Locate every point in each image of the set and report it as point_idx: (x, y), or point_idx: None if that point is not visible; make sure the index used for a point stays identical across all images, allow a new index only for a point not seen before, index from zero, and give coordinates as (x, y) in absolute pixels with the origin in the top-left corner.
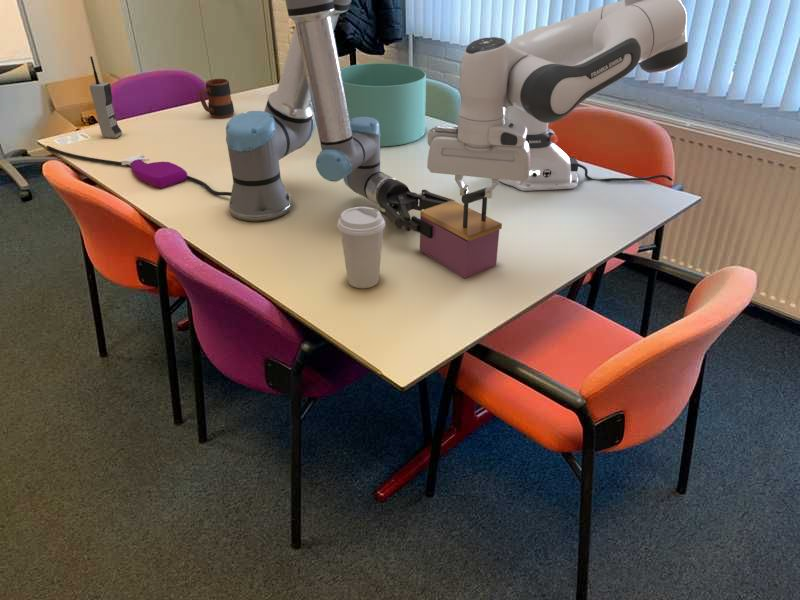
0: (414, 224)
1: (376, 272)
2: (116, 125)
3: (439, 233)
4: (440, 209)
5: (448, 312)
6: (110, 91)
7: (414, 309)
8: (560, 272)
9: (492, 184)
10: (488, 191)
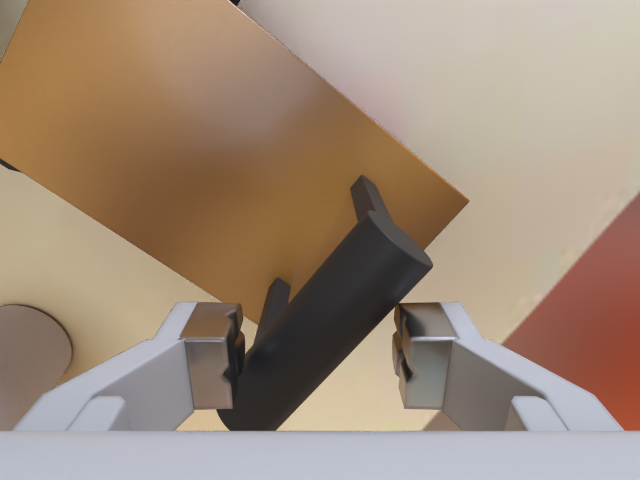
0: (4, 163)
1: (50, 387)
2: None
3: None
4: (71, 87)
5: (302, 414)
6: None
7: (218, 422)
8: (637, 136)
9: (486, 381)
10: (435, 403)
